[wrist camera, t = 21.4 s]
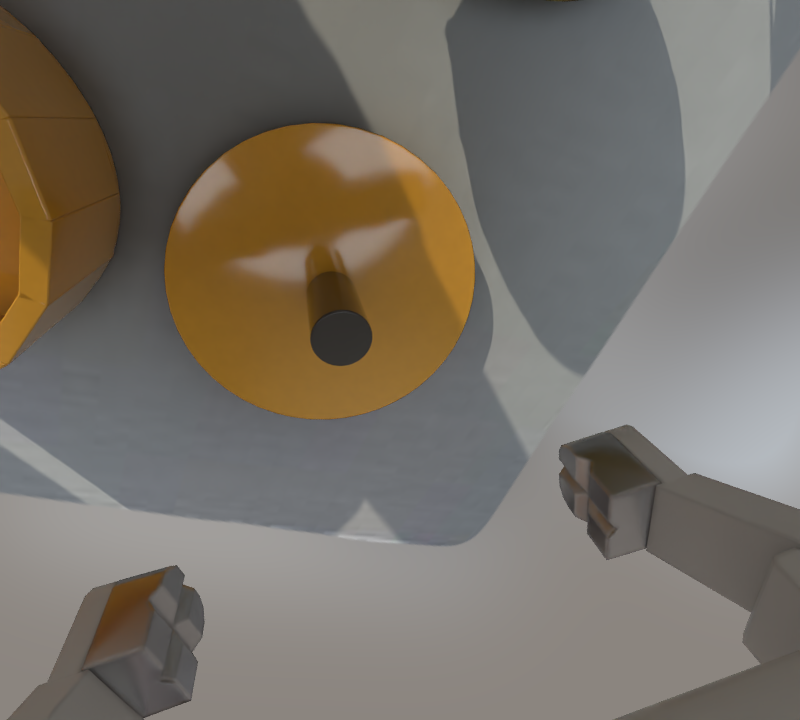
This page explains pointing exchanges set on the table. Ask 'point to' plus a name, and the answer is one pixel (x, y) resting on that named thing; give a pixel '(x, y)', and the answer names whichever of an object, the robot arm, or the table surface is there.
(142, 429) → the table surface
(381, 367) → the lid
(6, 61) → the pot
